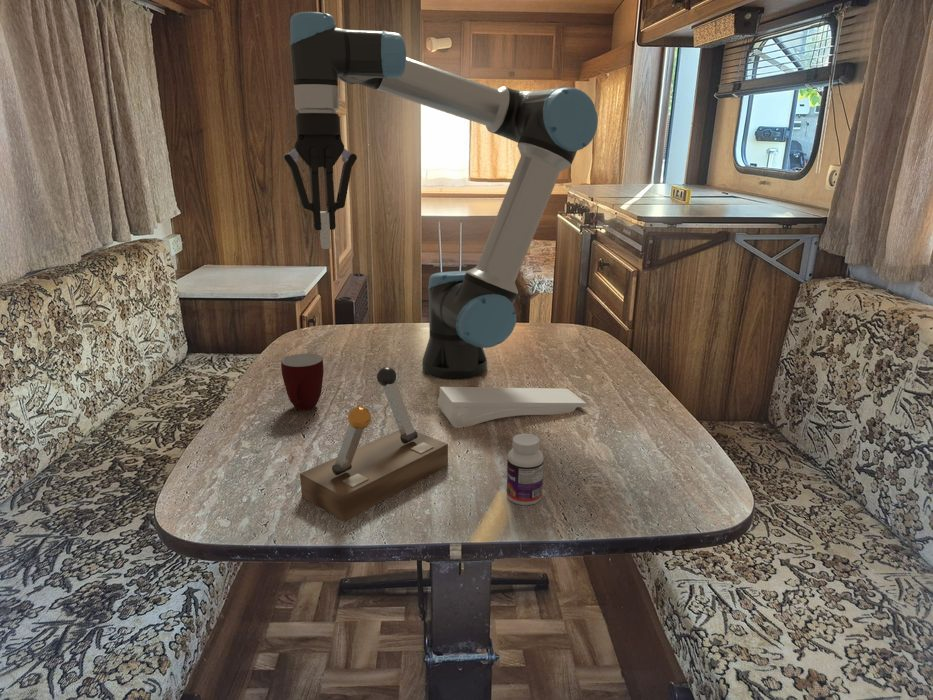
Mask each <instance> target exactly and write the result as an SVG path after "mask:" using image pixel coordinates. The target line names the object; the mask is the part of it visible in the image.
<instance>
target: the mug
mask: <svg viewBox="0 0 933 700" xmlns="http://www.w3.org/2000/svg"><path fill="white" fill-rule="evenodd" d="M280 367H281V376H282V379H283V384H284V387H285V390H286V394H287V398H288V399H289V401H290V403H292V405H293V406H294V408H295V409H296V410H298V411H311V410H313V409H314V408H315V407H317V405H318V403H319V400H320V397H321V395H322V390H323V388H322V387H323V381H324V372H325V371H324V359H323V357H322V355H319V354H316V353H315V354H314V353H297V354H291V355H289V356H286V357H284V358H282V359H281V362H280Z"/></svg>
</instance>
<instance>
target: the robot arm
mask: <svg viewBox="0 0 933 700" xmlns="http://www.w3.org/2000/svg"><path fill="white" fill-rule="evenodd" d="M289 28H290V29H289V35H290V37H289V38H290V39H289V40H290V41H289V46H290V57H291V69H292V80H293V93H294V97H293V98H294V108H295V110H296V111H298V113H296V115H295V124H296V142H295V144H294V148H293V149H292V150H291V151H290V152H288V153H285V154H283V155H282V157H283V160H284V162H285V163H286V164H287V165H288V167H289V168H290V172H291V176H292V178H293V182H294V185H295V188H296V190H297V193H298V197H299V200H300V203H301V207H303V209H305V210H308V211H311V212H312V220H313V221H312V223H313V228H314V230H315V231H319V239H320V248H322V249H323V250H328V249H329V250H331V249H332V246H331V245H332V243H331V242H332V241H331V230H336V227H337V224H336V211H338V210H340V209H343V208H345V206H346V205H345V204H346V201H347V194H348V189H349V186H350V185H349V183H350V178H351V172H352V168H353V166H354V164H355V163H356V161H357V158H358V156H357V155H356V153H352V152H350V151H349V150H347V149H346V148H345V145H344V142H343V140H342V135H341V117H340V115H339V113H337V111H339V110H340V99H339V98H340V97H339V81H338V80H340V81H342V82H343V83H346V84H348V85H360V86H363V87H367V88H369V89H373V90H377V91H379V92H383V93H386V94H389V95H393V96H394V97H398V98H401V99H404V100H406V101H410V102H413V103H416V104H419V105H423V106H426V107H429V108H431V109H435V110H437V111H441V112H444V113H447V114H449V115H452V116H455V117H459V118H462V119H464V120H468V121H471V122H474V123H477V124H480V125H484V126H485V127H486V130H487V131H488V132H489V133H492V134H494V135H497V136H501V137H502V138H505V139H507V140H510V141H513V142H515V143H517V145H516V146H517V149H518V151H519V154H520V158H519V160H518V163H517V165H516V168H515V169H514V172H513V175H512V178H511V180H510V182H509V184H508V187H507V190H506V193H505V194H504V197H503V200H502V203H501V204H500V207H499V209H498V212H497V215H496V218H495V219H494V222H493V224H492V227H491V229H490V231H489V234H488V236H487V239H486V242H485V244H484V247H483V249H482V251H481V255H480V257H479V259H478V261H477V263H476V265H475V267H472V268H470V269H468V270H456V271H455V270H454V271H453V270H451V271H442V272H441V271H440V272H436V273H435V272H434V273H433V274H431V275H430V277H429V278H428V287H427V290H428V318H429V319H428V320H429V321H428V323H429V324H428V325H429V327H428V328H429V336H428V342H427V344H426V348H425V349H424V350H425V351H424V353H423V354H424V355H423V357H422V359H421V360H422V364H421V365H422V368H421V369H422V372H424V374H426V375H428V376H429V377H433V378H436V379H442V380H450V381H451V380H454V381H455V380H467V379H473V378H477V377H479V376H482V375H483V374H485V373H486V372H487V369H488V359H487V356H486V353H485V350H484V349H489V348H493V347H495V346H498V345H500V344H502V343H503V342H505V341H506V340H507V339H508V338H509V337H510V336H511V334H512V333H513V331H514V329H515V327H516V324H517V313H516V309H515V306H514V304H515V301H516V299H517V296H518V295H519V291H518V288H517V285H516V280H517V277H518V275H519V273H520V271H521V268H522V265H523V263H524V261H525V258H526V256H527V253H528V251H529V248H530V246H531V243H532V242H533V239H534V236H535V233H536V231H537V230H538V227H539V224H540V222H541V219H542V217H543V214H544V213H545V212H544V211H545V210H546V207H547V205H548V202H549V200H550V197H551V195H552V193H553V190H554V188H555V185H556V183H557V180H558V178H559V175H560V173H561V172H563V171H565V170H567V169H569V168H571V167H572V165H573V162H574V160H575V157H576V155H577V152H579V151H581V150H583V149H584V148H586V147H588V145H589V144H590V143H591V142H592V141H593V139H594V137H595V136H596V133H597V130H598V124H599V123H598V112H597V110H596V107H595V104H594V102H593V100H592V98H591V97H590V96H589V95H588V94H587V93H586V92H585V91H583V90H581V89H579V88H576V87H569V86H559V87H555V88H552V89H540V90H518V89H513V88H509V87H507V86H505V85H504V86H500V87H498V88H495V87H492V86H489V85H485V84H483V83H481V82H478V81H475V80H472V79H469V78H466V77H464V76H460V75H458V74H455V73H453V72H449V71H446V70H444V69H441V68H438V67H435V66H432V65H429V64H427V63H424V62H421V61H418V60H415V59H412V58H410V57H408V56H407V48H406V47H407V46H406V43H405V39H404V37H403V36H402V34H400V33H398V32H394V31H393V32H392V31H387V30H362V29H361V30H360V29H346V28H345V29H344V28H340V27H337V24H336V21H335V17H334V16H333V15H331V14H329V13H327V12H326V13H325V12H319V11H301V12H296V13H294V14H293V15H292V16H291V17H290V20H289ZM298 156H299V157H300V158H301V160H303V161H304V163H305V164H306V165H307V167H308V168H309V169H308V170H309V179H310V181H309V183H310V197H311V202H310V201H309V198H308V194H307V191H306V188H305V184H304V182H303V177H302V175H301V172H300V169H299V168H300V167H299V166H298V164H297V163H299V158H298ZM341 156H342V157H341ZM340 157H341V161H342V163H343V164H342V168H341V174H340V180H339V186H338V190H337V196H336V199H335V187H334V183H335V182H334V166H335V165H336V163H337V162H338V160H339V158H340ZM319 168H323V173H324V174H323V175H324V188H325V189H324V190H325V192H324V193H325V205H326V211H325V210H324V211H323V210H322V211H321V195H320V179H319V177H320V176H319ZM335 200H336V201H335Z"/></svg>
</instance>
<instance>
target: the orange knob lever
mask: <svg viewBox="0 0 933 700" xmlns="http://www.w3.org/2000/svg"><path fill="white" fill-rule="evenodd" d="M347 415H348V416H347V420H348V426H347V429H346V432H345V434H344V437H343V440H342V443H341V446H340V449H339V452H338V454H337V460H336V463H335V465H333V466H332V471H333V473H334V474H335V475H339V474H341V473H343V472H346V471H348V470H350V469H351V468H352V465H351V463H352V460H353V457H354V455H355V452H356V449H357V448H358V446H359V443H360V440H361V439H362V435H363V432H364V430H365V429H366V428H367V427H368V426H369V425H370V423H371V422H372V414H371V412H370V411H369V409H368V408H366V407H364V406H355V407H353V408H352V409H351V410H350V411H349V412H348V414H347Z"/></svg>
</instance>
